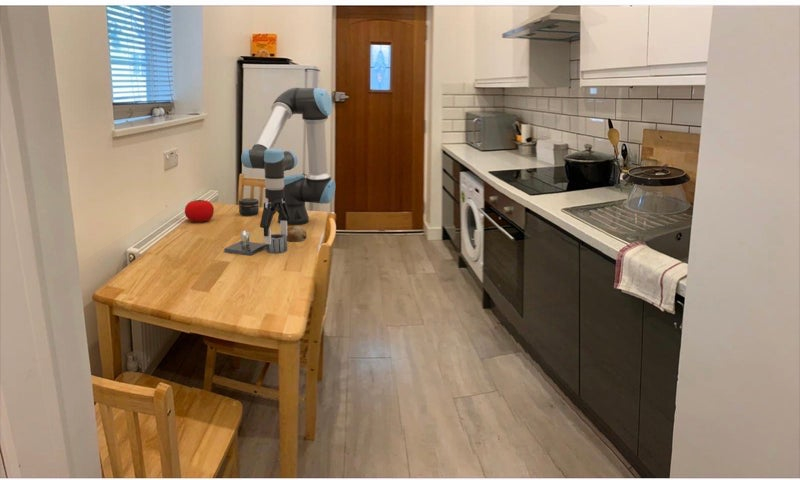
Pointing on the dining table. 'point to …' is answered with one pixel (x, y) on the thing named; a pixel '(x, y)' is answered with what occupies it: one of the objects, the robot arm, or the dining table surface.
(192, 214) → the tomato
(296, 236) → the bread roll
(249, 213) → the jar
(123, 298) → the dining table surface
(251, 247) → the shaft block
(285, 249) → the tube
